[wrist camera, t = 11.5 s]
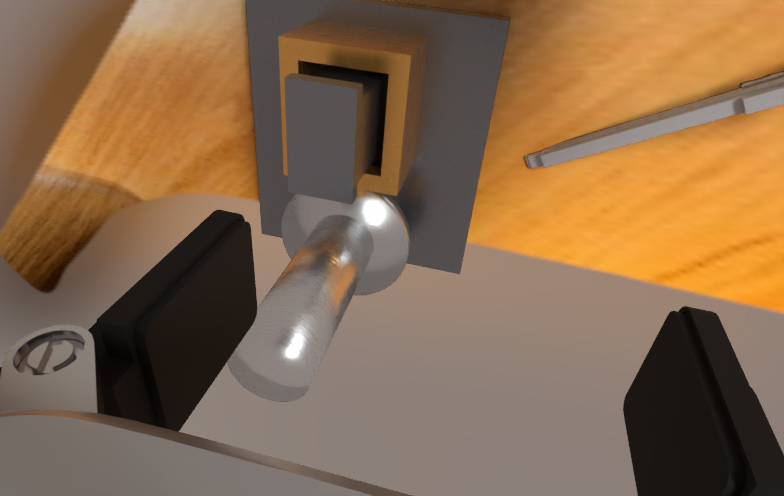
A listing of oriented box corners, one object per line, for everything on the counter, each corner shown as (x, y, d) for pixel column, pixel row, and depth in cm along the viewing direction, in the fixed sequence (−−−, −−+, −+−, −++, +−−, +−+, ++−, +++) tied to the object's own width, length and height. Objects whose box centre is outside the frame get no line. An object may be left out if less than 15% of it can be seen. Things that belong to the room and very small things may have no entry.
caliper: (863, 26, 30) (931, 49, 25) (865, 44, 30) (932, 70, 25) (523, 154, 38) (522, 191, 33) (529, 167, 39) (528, 205, 34)
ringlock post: (254, -16, 36) (32, 36, 20) (510, 17, 33) (489, 107, 17) (269, 234, 48) (136, 393, 32) (459, 273, 45) (419, 467, 29)
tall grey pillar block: (343, 39, 35) (284, 77, 27) (400, 47, 35) (357, 88, 26) (340, 133, 39) (288, 192, 31) (391, 142, 38) (352, 204, 30)
